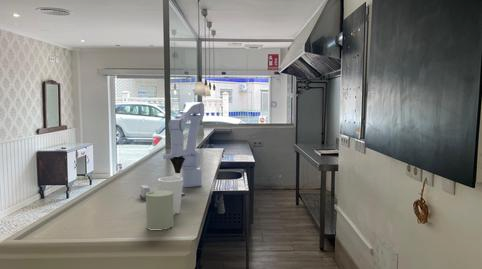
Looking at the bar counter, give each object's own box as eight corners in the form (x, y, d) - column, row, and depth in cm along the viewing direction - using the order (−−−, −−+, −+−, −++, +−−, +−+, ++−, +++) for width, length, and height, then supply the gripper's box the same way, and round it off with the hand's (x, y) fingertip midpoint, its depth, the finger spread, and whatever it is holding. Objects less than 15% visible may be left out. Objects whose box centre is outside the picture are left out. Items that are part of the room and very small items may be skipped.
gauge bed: (178, 191, 171) (177, 180, 171) (184, 195, 162) (184, 184, 162) (140, 195, 163) (139, 184, 162) (144, 200, 154) (144, 189, 154)
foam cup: (162, 208, 142) (161, 176, 141) (185, 208, 142) (184, 176, 141) (155, 215, 132) (155, 181, 131) (180, 216, 132) (180, 181, 131)
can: (148, 222, 125) (148, 188, 124) (175, 221, 126) (174, 188, 125) (143, 231, 116) (143, 195, 115) (172, 230, 117) (171, 194, 116)
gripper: (183, 142, 174) (184, 169, 175) (159, 144, 164) (159, 174, 165) (193, 143, 170) (193, 171, 171) (168, 146, 159) (169, 176, 160)
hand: (177, 173), depth 167 cm, fingers closed
